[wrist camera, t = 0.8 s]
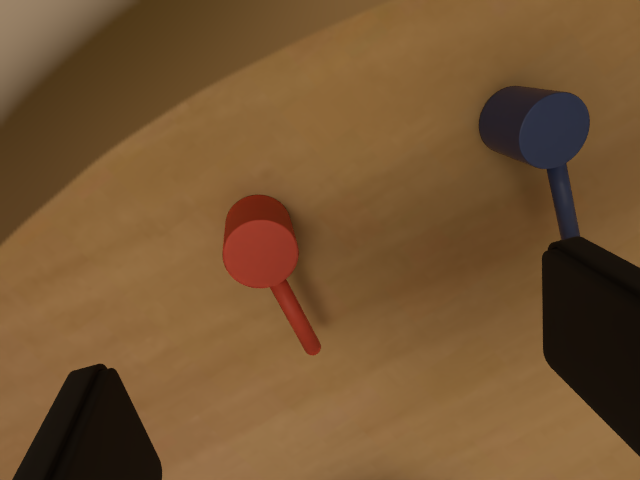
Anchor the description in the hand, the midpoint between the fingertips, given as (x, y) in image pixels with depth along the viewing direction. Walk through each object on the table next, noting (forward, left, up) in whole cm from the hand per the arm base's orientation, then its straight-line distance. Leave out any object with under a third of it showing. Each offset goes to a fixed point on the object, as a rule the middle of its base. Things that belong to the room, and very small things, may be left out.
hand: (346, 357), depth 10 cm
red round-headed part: (+6, +2, -19) cm, 20 cm away
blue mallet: (-5, +14, -19) cm, 24 cm away
